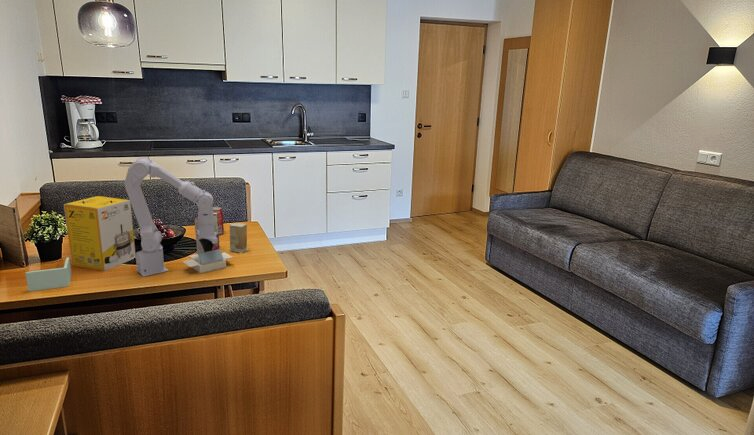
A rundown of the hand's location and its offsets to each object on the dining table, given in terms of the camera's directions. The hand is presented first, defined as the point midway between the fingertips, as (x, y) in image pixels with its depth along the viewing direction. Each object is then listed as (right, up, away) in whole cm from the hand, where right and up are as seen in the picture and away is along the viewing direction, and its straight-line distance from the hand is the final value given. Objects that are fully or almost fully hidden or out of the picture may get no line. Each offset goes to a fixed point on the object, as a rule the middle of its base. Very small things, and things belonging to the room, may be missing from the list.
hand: (208, 255), depth 196 cm
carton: (-2, -4, +3) cm, 6 cm away
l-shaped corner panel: (-51, -9, -18) cm, 55 cm away
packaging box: (-43, -3, +4) cm, 44 cm away
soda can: (-11, +7, +44) cm, 46 cm away
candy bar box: (-7, 0, +19) cm, 21 cm away
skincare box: (+6, 0, +22) cm, 23 cm away
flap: (+1, 0, -2) cm, 2 cm away
